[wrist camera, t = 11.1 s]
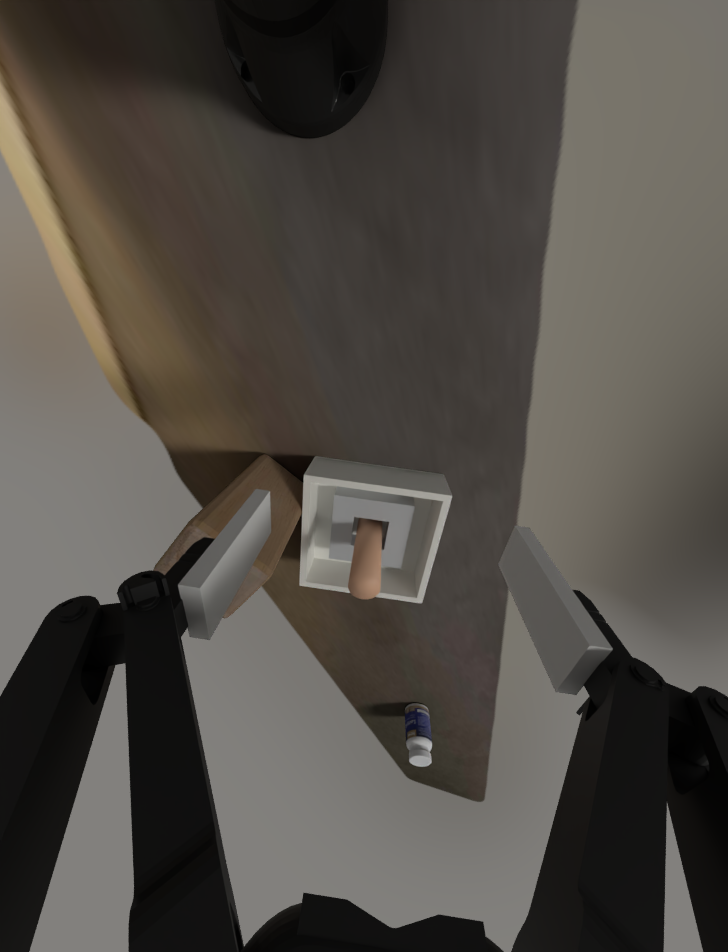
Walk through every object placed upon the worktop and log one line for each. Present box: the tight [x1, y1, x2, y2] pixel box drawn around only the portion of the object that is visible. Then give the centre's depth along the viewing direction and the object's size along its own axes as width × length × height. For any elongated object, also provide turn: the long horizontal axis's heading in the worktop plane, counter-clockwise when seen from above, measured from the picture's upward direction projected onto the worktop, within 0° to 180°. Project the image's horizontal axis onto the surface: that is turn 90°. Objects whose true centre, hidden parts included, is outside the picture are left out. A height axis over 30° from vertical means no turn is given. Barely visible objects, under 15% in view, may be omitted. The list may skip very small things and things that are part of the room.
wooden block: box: [153, 454, 303, 618], centre depth 41 cm, size 10×10×20 cm
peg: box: [348, 518, 382, 599], centre depth 43 cm, size 4×4×14 cm
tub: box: [299, 456, 452, 603], centre depth 47 cm, size 20×20×7 cm
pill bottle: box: [405, 703, 432, 767], centre depth 68 cm, size 6×6×10 cm
